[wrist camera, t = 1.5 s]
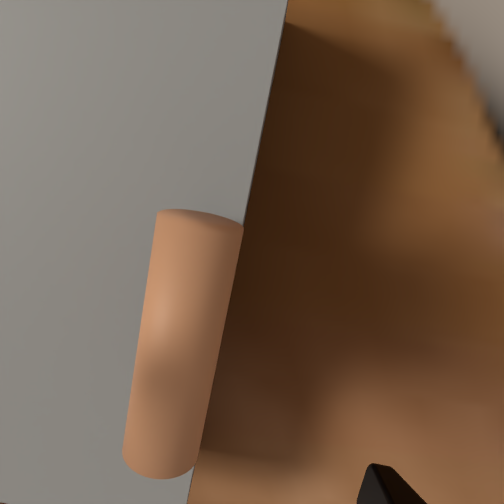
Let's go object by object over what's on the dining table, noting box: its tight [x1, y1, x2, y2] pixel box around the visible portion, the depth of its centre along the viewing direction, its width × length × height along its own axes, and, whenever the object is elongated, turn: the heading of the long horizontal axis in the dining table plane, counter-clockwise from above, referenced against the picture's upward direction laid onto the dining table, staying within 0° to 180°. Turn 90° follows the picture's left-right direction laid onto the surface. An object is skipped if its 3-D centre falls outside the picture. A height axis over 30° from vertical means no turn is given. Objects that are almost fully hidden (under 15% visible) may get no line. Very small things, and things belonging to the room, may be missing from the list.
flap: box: [0, 0, 288, 504], centre depth 13 cm, size 20×12×5 cm, turn 169°
